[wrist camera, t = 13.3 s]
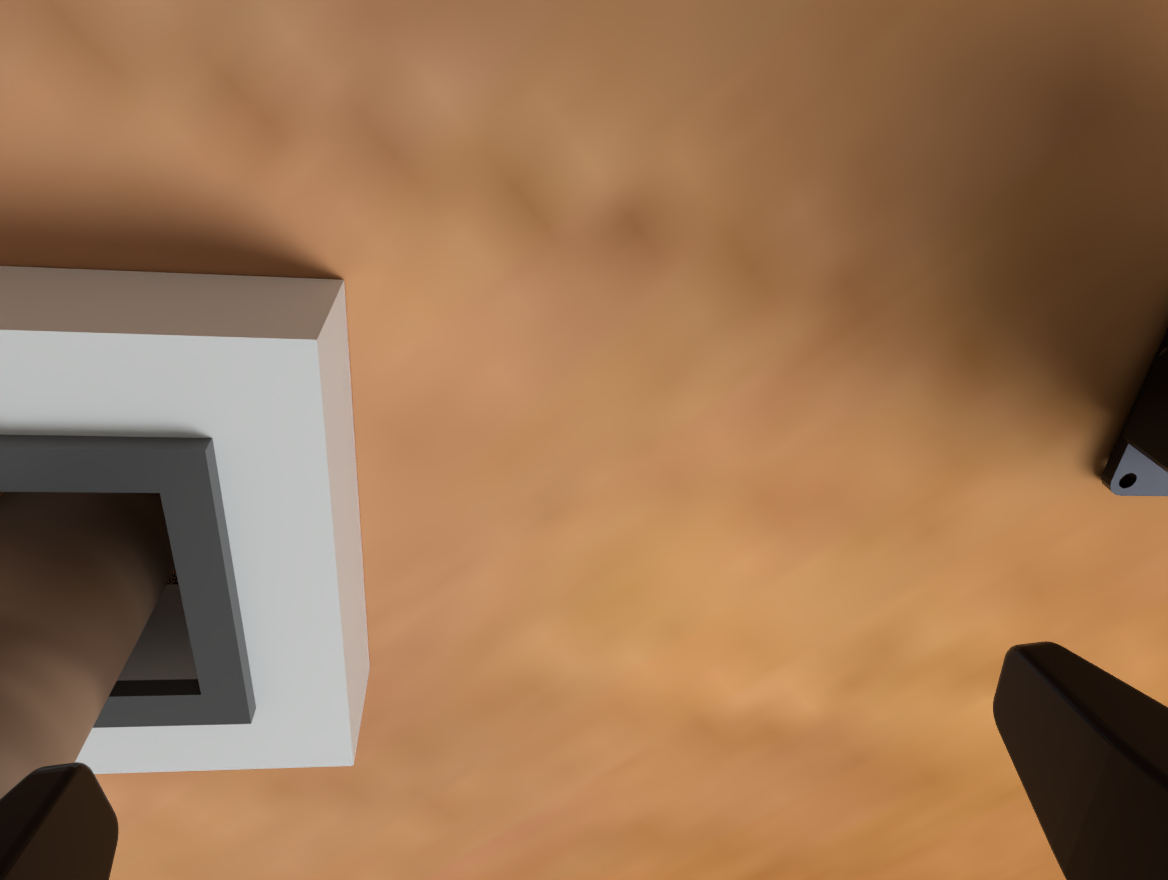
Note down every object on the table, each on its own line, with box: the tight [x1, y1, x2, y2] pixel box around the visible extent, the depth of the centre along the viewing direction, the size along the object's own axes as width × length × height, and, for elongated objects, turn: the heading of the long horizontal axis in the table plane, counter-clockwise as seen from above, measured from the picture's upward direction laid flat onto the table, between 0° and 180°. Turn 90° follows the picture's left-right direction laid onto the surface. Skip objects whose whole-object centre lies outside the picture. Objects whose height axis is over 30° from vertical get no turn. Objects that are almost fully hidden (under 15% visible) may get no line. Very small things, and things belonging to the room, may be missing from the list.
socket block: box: [0, 266, 370, 774], centre depth 19 cm, size 12×12×4 cm
